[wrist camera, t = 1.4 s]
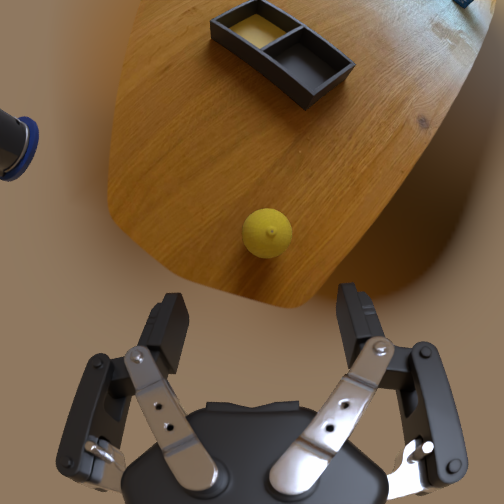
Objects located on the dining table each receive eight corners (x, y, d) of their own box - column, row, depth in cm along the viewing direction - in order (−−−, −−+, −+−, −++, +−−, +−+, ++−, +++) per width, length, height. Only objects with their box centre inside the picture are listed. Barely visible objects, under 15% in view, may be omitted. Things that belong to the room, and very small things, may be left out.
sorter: (305, 110, 36) (313, 96, 31) (210, 38, 34) (209, 20, 30) (345, 78, 36) (356, 64, 31) (255, 13, 35) (258, -4, 30)
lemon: (289, 249, 36) (306, 250, 28) (248, 262, 35) (253, 267, 27) (276, 207, 35) (289, 196, 27) (234, 220, 35) (236, 212, 27)
